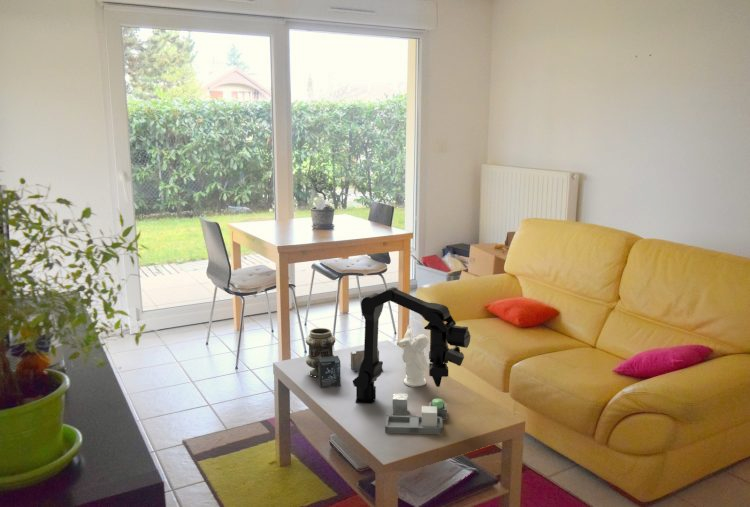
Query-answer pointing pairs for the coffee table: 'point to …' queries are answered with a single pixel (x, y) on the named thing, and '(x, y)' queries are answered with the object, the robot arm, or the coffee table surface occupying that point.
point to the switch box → (441, 411)
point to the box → (329, 371)
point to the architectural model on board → (358, 359)
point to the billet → (400, 404)
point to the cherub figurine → (414, 358)
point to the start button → (437, 403)
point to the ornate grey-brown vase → (319, 347)
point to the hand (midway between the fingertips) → (437, 386)
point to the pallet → (416, 422)
